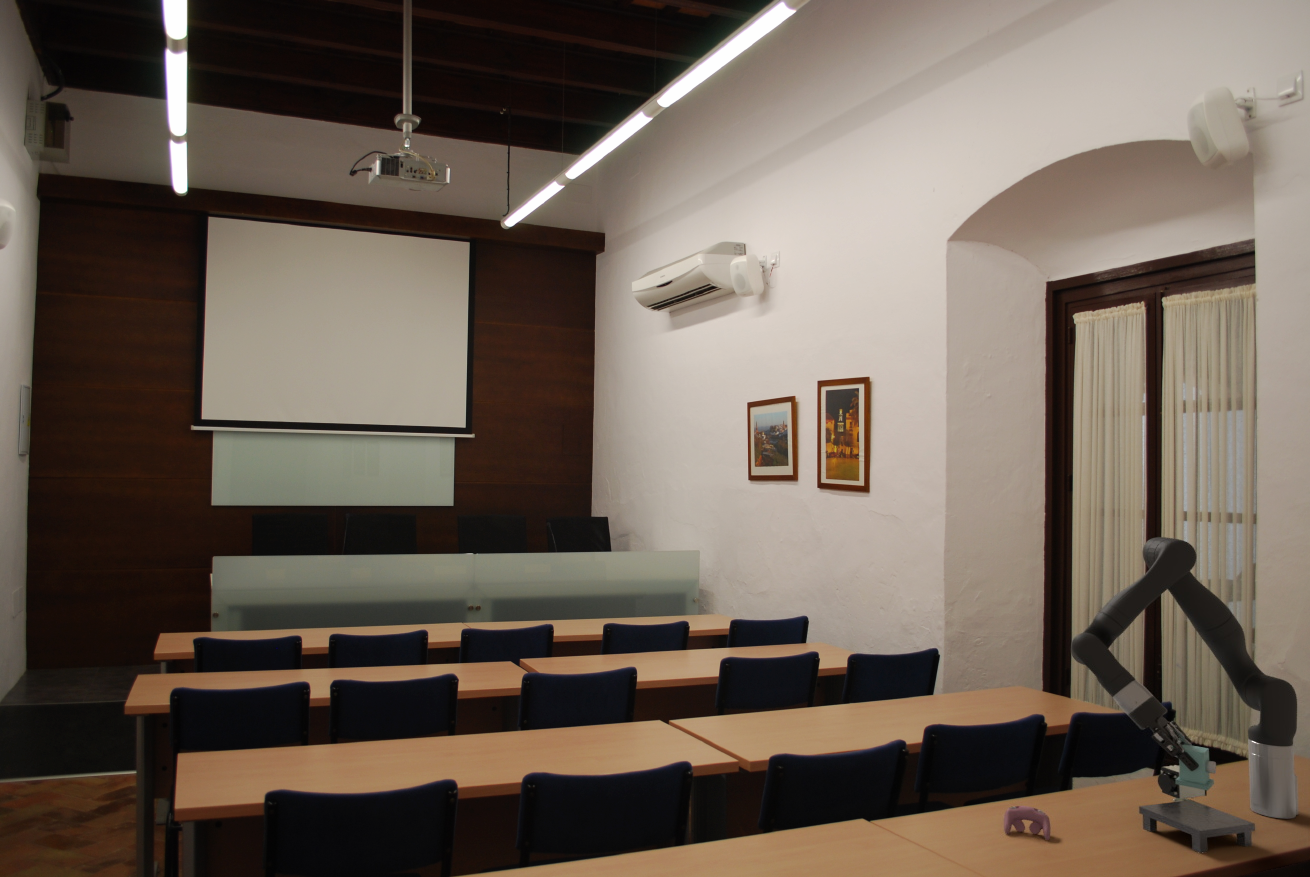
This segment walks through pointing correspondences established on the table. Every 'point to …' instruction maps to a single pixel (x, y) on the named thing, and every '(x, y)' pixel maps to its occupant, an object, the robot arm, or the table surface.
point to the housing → (1199, 775)
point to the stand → (1197, 822)
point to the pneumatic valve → (1176, 785)
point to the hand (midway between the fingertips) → (1198, 765)
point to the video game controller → (1027, 813)
